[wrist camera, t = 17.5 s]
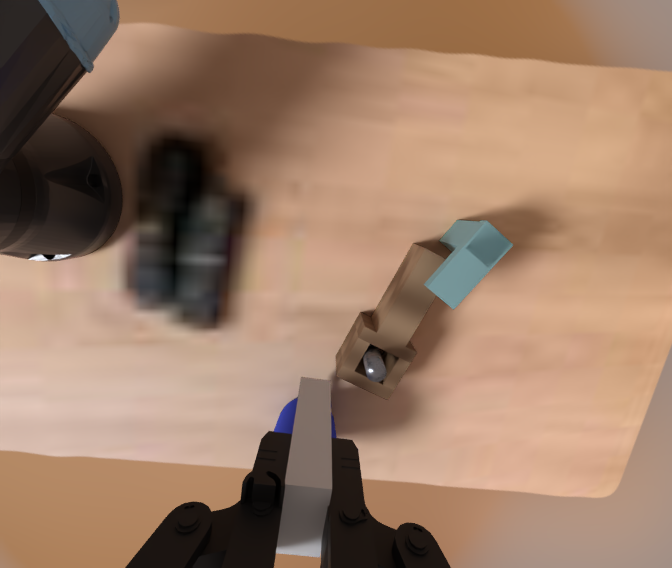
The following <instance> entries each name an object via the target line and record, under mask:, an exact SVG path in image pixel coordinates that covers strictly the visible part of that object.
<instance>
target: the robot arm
mask: <svg viewBox="0 0 672 568" xmlns="http://www.w3.org/2000/svg"><path fill="white" fill-rule="evenodd" d="M119 18H120V16H119V7H118V3H117V0H0V254H1V255H7V256H12V257H18V258H24V259H30V260H36V261H60V260H66V259H71V258H77V257H81V256H84V255H87V254H89V253H91V252H93V251H95V250H96V249H98V248H99V247H101V246H102V245H103V244H104V243H105V242H106V241H107V240H108V239H109V238H110V236H111V235H112V233H113V232H114V230H115V228H116V226H117V224H118V221H119V218H120V214H121V209H122V190H121V184H120V180H119V177H118V173H117V171H116V168H115V166H114V164H113V162H112V160H111V158H110V157H109V155H108V154H107V152H106V151H105V149H104V148H103V147H102V146H101V144H100V143H99V142H98V141H97V140H96V139H95V138H94V137H93V136H92V135H91V134H90V133H88V132H87V131H86V130H85V129H83V128H82V127H80V126H79V125H77V124H76V123H74V122H72V121H70V120H68V119H65V118H63V117H60V116H57V115H54V114H51V113H52V112H53V111H54V110H55V108H56V107H57V106H58V105H59V104H60V103H61V101H62V100H63V99H64V98H65V97H66V96H67V94H68V93H69V92H70V91H71V90H72V89H73V87H74V86H75V85H76V84H77V83H78V82H79V80H80V79H81V78H82V77H83V76H84V75H85V73H86V72H89V73H91V72H92V71H93V68H94V65H93V62H94V60H95V59H96V58H97V56H98V55H99V54H100V52H101V51H102V49H103V48H104V47H105V45H106V44H107V43H108V41H109V40H110V38H111V37H112V36H113V34H114V33H115V32H116V30H117V28H118V25H119ZM276 553H281V554H291V555H302V556H312V557H320V553H321V566H320V568H450V565H449V564H448V562H447V560H446V558H445V556H444V554H443V553H442V551H441V549H440V547H439V545H438V543H437V542H436V540H435V539H434V537H433V536H432V535H431V533H430V532H429V531H427V530H426V529H425V528H424V527H422V526H420V525H418V524H415V523H404V524H402V525H400V526H399V528H398V529H397V530H395V529H393V528H390V527H388V526H386V525H384V524H382V523H380V522H378V521H377V520H376V519H375V518H373V517H372V516H371V514H370V513H369V510H368V509H367V507H366V505H365V502H364V494H363V486H362V478H361V470H360V462H359V454H358V449H357V447H356V446H355V444H354V442H353V441H352V440H347V439H339V438H331V381H330V380H322V379H314V378H306V377H301V382H300V388H299V395H298V401H297V407H296V414H295V420H294V426H293V433H292V434H289V433H281V432H272V431H269V432H268V433H267V434H266V435H265V436H264V437H263V438H262V439H261V442H260V446H259V450H258V453H257V456H256V460H255V463H254V467H253V470H252V472H250V473H249V474H248V475H247V476H246V477H245V479H244V481H243V484H242V493H241V500H240V501H239V502H238V503H236V504H235V505H233V506H231V507H229V508H226V509H222V510H217V511H213V512H211V510H210V509H209V507H208V506H207V505H205V504H203V503H201V502H188V503H184V504H182V505H180V506H178V507H176V508H175V509H174V510H173V511H172V512H171V513H169V515H168V516H167V517H166V518H165V519H164V520H163V522H162V523H161V524H160V525H159V527H158V528H157V529H156V530H155V532H154V533H153V534H152V535H151V537H150V538H149V539H148V540H147V541H146V543H145V544H144V545H143V546H142V548H141V549H140V550H139V551H138V553H137V554H136V555H135V556H134V557H133V559H132V560H131V561H130V562H129V564H128V565H127V566H126V568H274V562H275V555H276Z"/></svg>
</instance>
